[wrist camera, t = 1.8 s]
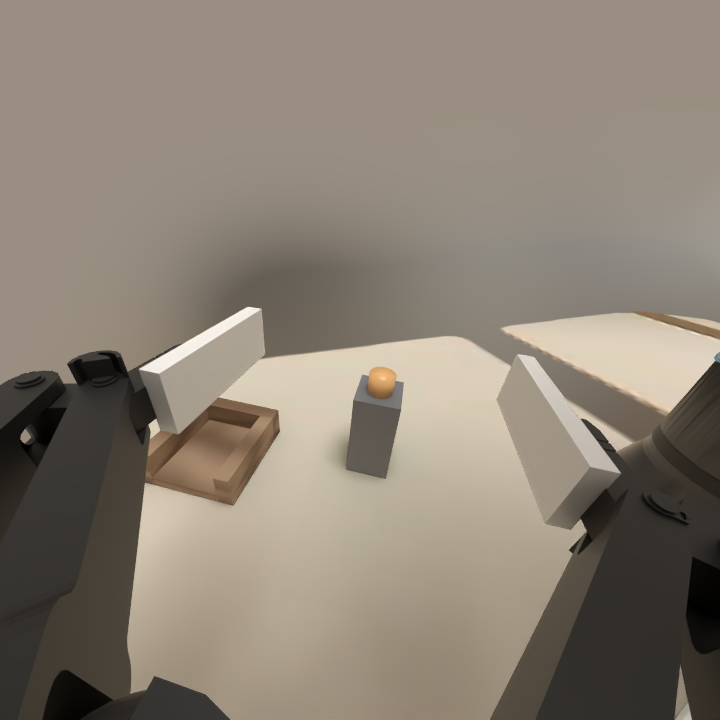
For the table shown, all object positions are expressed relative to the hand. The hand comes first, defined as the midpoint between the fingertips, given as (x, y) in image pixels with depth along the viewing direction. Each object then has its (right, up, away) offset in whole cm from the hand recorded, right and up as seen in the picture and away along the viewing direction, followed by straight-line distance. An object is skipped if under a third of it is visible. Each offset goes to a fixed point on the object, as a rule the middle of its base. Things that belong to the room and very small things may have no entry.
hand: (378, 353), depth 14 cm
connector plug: (0, -12, +18) cm, 22 cm away
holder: (-17, -11, +17) cm, 26 cm away
